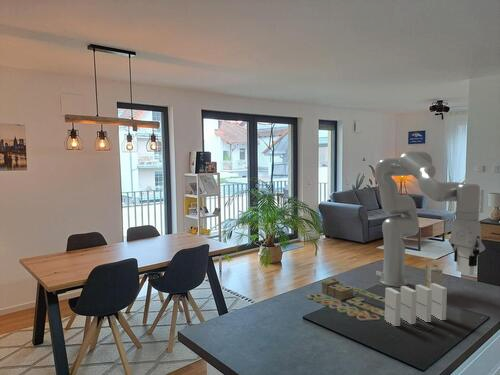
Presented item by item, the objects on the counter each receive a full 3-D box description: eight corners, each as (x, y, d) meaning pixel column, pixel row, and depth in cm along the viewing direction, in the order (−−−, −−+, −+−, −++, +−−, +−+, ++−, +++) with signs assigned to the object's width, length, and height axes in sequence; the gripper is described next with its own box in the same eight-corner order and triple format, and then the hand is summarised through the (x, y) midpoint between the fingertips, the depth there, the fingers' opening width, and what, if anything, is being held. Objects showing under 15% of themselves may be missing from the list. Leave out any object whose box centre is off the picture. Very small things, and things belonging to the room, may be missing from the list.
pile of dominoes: (302, 297, 159) (302, 285, 158) (345, 286, 174) (345, 274, 174) (369, 327, 130) (370, 312, 130) (413, 310, 146) (414, 296, 145)
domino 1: (395, 327, 129) (396, 293, 128) (384, 320, 135) (385, 287, 134) (400, 326, 130) (401, 293, 129) (389, 319, 135) (390, 287, 135)
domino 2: (410, 325, 131) (411, 291, 130) (399, 318, 137) (400, 286, 136) (415, 324, 131) (416, 291, 131) (404, 317, 137) (405, 286, 136)
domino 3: (426, 323, 132) (427, 290, 132) (414, 316, 138) (415, 285, 138) (431, 322, 133) (432, 289, 132) (419, 315, 139) (420, 284, 138)
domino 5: (469, 275, 137) (470, 243, 136) (456, 270, 143) (457, 240, 142) (473, 274, 138) (475, 242, 137) (460, 270, 143) (461, 239, 143)
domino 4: (441, 321, 134) (442, 288, 133) (429, 314, 140) (430, 283, 139) (445, 320, 135) (447, 288, 134) (433, 314, 141) (434, 283, 140)
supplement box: (442, 300, 155) (443, 269, 154) (429, 299, 156) (430, 269, 155) (436, 293, 163) (437, 264, 162) (424, 293, 164) (425, 264, 163)
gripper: (441, 213, 146) (439, 258, 147) (479, 220, 130) (477, 270, 131) (456, 213, 148) (454, 257, 149) (495, 219, 132) (493, 269, 133)
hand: (465, 263), depth 140 cm, fingers closed on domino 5, 5 cm apart
